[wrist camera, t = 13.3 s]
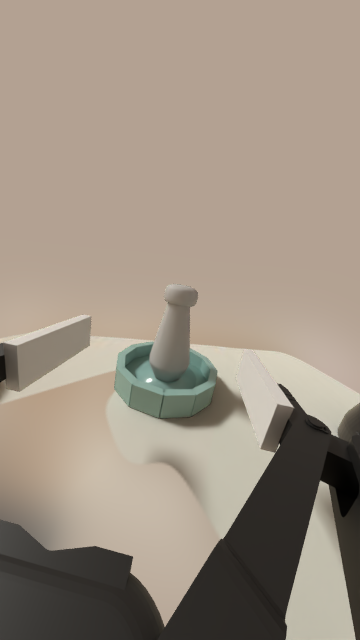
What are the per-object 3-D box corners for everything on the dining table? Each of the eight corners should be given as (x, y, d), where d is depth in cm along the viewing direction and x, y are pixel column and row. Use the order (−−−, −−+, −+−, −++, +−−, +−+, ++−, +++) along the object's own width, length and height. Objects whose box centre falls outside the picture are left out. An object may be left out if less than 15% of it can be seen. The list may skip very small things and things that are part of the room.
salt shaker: (187, 368, 30) (204, 288, 26) (185, 390, 24) (207, 292, 21) (151, 360, 30) (164, 280, 26) (141, 380, 24) (156, 282, 21)
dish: (230, 391, 28) (235, 373, 27) (155, 440, 18) (160, 414, 17) (169, 351, 37) (172, 337, 36) (98, 369, 27) (99, 350, 26)
